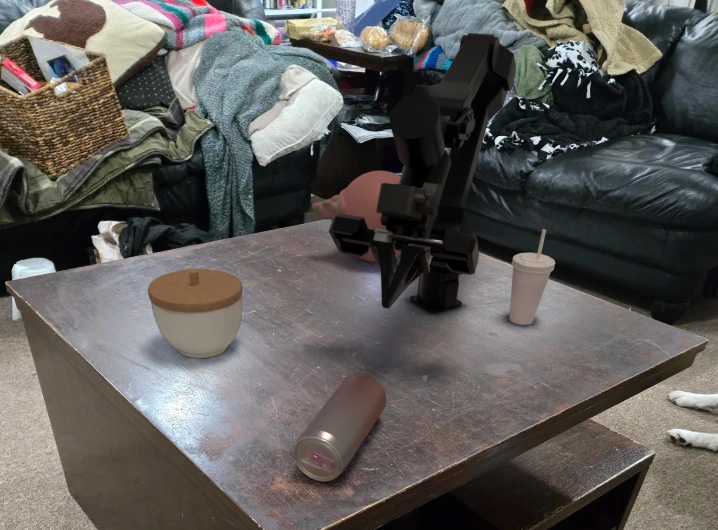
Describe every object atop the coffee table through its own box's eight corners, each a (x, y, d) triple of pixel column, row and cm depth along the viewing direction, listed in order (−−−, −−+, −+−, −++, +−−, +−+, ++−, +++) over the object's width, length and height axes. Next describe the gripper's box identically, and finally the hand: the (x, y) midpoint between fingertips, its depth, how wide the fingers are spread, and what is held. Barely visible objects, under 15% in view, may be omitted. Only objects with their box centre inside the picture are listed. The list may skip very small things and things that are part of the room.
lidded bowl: (212, 320, 99) (205, 248, 92) (264, 348, 93) (259, 273, 86) (141, 345, 92) (126, 269, 85) (190, 377, 86) (179, 297, 79)
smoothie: (545, 329, 100) (567, 237, 91) (504, 328, 100) (523, 236, 91) (536, 312, 105) (556, 223, 96) (497, 311, 105) (514, 222, 96)
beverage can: (380, 422, 80) (335, 491, 69) (337, 402, 80) (286, 468, 69) (394, 383, 76) (349, 451, 65) (349, 363, 76) (297, 426, 65)
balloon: (314, 244, 128) (314, 159, 118) (414, 247, 128) (422, 163, 118) (309, 272, 116) (308, 180, 106) (418, 276, 116) (428, 184, 106)
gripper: (335, 142, 76) (298, 265, 75) (489, 160, 71) (451, 292, 70) (356, 196, 87) (324, 304, 86) (492, 215, 82) (458, 330, 81)
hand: (385, 307), depth 81 cm, fingers closed
